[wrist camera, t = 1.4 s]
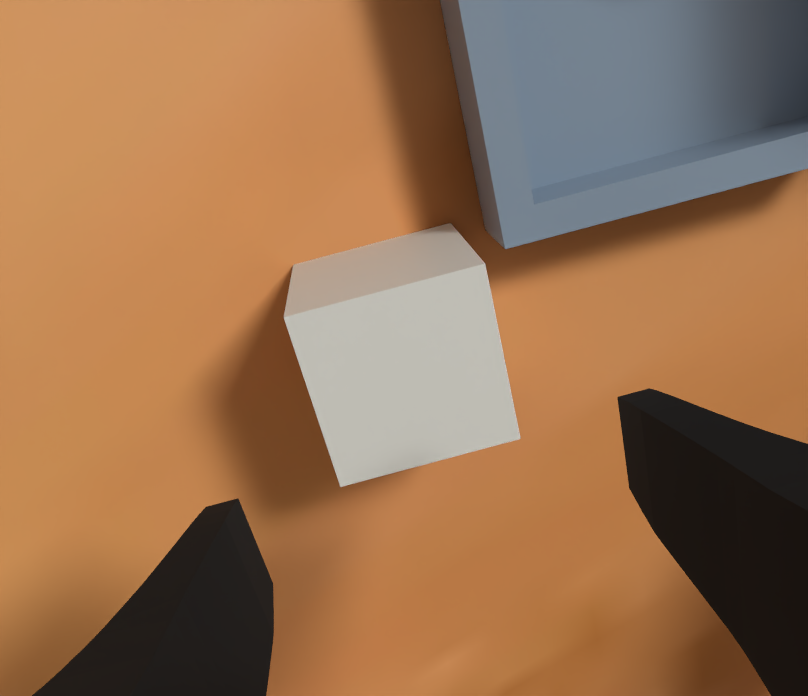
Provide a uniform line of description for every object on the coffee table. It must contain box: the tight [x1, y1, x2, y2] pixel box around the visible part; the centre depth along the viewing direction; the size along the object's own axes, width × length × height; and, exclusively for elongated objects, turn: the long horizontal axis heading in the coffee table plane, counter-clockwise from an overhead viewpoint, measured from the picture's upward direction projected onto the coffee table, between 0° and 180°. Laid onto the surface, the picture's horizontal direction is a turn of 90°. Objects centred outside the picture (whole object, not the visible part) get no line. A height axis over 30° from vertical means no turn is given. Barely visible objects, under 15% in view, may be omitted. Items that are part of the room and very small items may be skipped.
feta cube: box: [284, 223, 520, 487], centre depth 19 cm, size 5×5×5 cm
